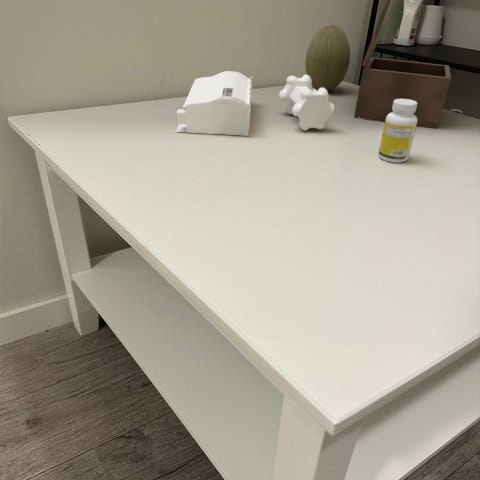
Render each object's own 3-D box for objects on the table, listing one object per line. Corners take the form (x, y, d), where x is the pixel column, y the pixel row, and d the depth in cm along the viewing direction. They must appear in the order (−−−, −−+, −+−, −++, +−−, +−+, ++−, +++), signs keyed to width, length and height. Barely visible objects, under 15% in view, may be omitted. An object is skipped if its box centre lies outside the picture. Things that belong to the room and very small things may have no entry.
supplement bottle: (388, 150, 91) (401, 95, 85) (413, 159, 88) (428, 102, 82) (371, 156, 88) (383, 100, 82) (396, 165, 85) (411, 107, 79)
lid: (410, -42, 101) (370, -56, 101) (407, -42, 89) (362, -57, 90) (371, 55, 113) (337, 43, 114) (365, 67, 102) (326, 53, 102)
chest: (436, 111, 116) (449, 65, 110) (436, 128, 104) (451, 78, 98) (361, 102, 120) (369, 57, 113) (353, 117, 108) (363, 68, 102)
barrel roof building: (189, 100, 114) (188, 67, 109) (251, 103, 114) (252, 71, 110) (175, 132, 94) (174, 94, 90) (249, 136, 94) (252, 99, 90)
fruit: (352, 90, 128) (363, 26, 119) (331, 98, 121) (341, 29, 112) (315, 83, 134) (324, 20, 124) (293, 89, 127) (300, 23, 117)
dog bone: (333, 132, 99) (339, 90, 94) (292, 132, 97) (297, 89, 92) (312, 111, 110) (317, 73, 105) (275, 112, 109) (279, 72, 104)
